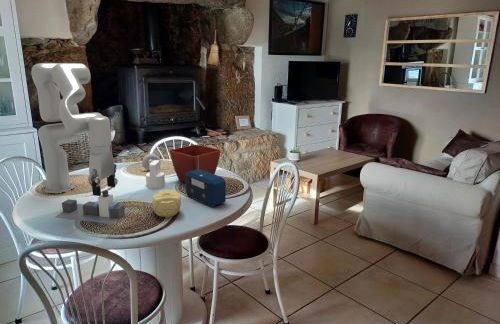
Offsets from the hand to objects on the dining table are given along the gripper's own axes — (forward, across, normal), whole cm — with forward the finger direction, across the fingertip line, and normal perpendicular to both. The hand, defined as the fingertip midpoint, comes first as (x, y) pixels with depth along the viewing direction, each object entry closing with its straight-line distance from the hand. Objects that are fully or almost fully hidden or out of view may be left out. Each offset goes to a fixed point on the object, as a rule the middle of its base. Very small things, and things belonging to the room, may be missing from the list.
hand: (104, 191), depth 144 cm
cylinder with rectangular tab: (+12, -41, +2) cm, 42 cm away
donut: (+13, -63, -11) cm, 65 cm away
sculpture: (+12, -10, +22) cm, 26 cm away
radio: (+12, -29, +32) cm, 44 cm away
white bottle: (+10, 0, +1) cm, 10 cm away
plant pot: (+12, -53, +19) cm, 57 cm away
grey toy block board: (+12, 0, -5) cm, 13 cm away
